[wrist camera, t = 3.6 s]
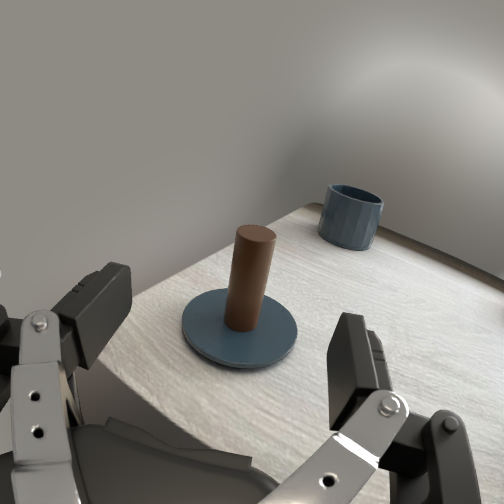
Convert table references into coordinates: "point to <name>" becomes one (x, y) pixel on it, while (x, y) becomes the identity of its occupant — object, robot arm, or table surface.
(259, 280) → the lid
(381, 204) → the pot
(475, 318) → the table surface
